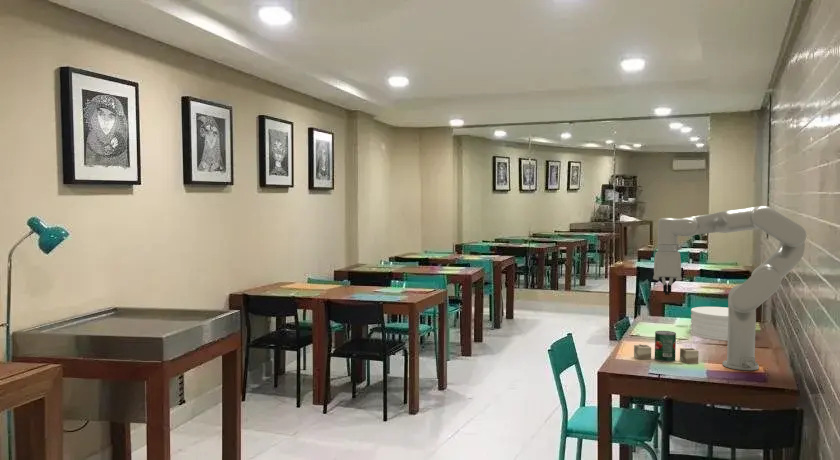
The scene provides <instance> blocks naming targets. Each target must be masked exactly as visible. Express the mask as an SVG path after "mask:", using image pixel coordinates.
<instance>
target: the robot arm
mask: <svg viewBox="0 0 840 460" xmlns="http://www.w3.org/2000/svg"><path fill="white" fill-rule="evenodd" d="M753 230H761V231H762V232H764V233H765V234H767V235H769V236H770V237H771V238H773V239H775V240H777V241H778V242H779V244H778V247H777V249H776V250H775V251H774V252H773V253H772V254H771V255H770V256H769V257H768V258H767V259H766V260H765V261H763V263H761V264H760V265H759V266H757V267H756V268H755V269H754V270H753V271H752V272H751V276H749V278H747V279H746V280H745V281H744V282H743V283H742V284H737V285H735V286H733V287H732V288H731V289H730V290H729V292H728V296H727V301H728V302H727V303H728V305H727V306H728V341H727V344H726V345H727V346H726V347H727V348H726V350H727V351H726V352H727V353H726V359H725V360H722V365H723V367H726V368H729V369H732V370H738V371H739V370H740V371H757V370H759V369H760V365H759V363H758V362H756V357H755V354H756V352H755V351H756V328H757V325H756V324H757V308H759V307H760V306H761V305H762V304H763V303H764V302H766V301H767V300H768V299H769V298H770V297H772V295H773V294H775V293H776V292H777V291H778V290H779V288H780V287H781V285H782V279H783V278H784V277H786V275H788V274H789V273H790V272H791V271H793V269H794V268H795V267H797V265H798V264H799V262H800V261H801V260H802V258H803V255H804V253H805V248H806V244H805V241H807V240H806V239H807V232H806V230H805V228H804V227H803V226H802V225H800V224H799V223H797V222H795V221H793V220H791V219H790V218H788V217H787V216H785V215H783V214H782V213H780V212H779V211H777V210H775V209H774V208H772V207H770V206H768V205H759V206H751V207H742V208H738V209H737V208H736V209H728V210H722V211H719V212H714V213H710V214H703V215H702V214H700V215H694V216H688V217H687V216H686V217H682V218H675V217H661V218H659V219H658V221H657V251H655V253H654V260H653V277H652V279H653V280H656V281H659V282H660V283H661V284H662V285H663V287H662V288H663V289H662V292H663V294H664V295H665V296H667V295H668V296H670V294H671V293H672V285H673V284H674V283H675V282H679V281H682V280H683V278H682V259H681V257H682V256H681V252H679V251H680V250H683V249H682V248H683V246H682V245H679V236H680V237H685V238H686V237H687V238H691V237H694V236H696V235H705V234H712V233H719V234H720V233H721V234H722V233H723V234H728V233H729V234H730V233H737V232H745V231H753ZM666 278H669V280H668V283H667V281H666Z"/></svg>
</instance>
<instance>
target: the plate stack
mask: <svg viewBox="0 0 840 460" xmlns="http://www.w3.org/2000/svg"><path fill="white" fill-rule="evenodd" d="M690 313H691V314H690V318H691V319H690V328H691V329H690V334H692V335H693V336H696V337H699V338H702V339H703V338H704V339H708V340H716V341H727V342H728V307H725V306H723V307H722V306H697V307H692V308H691V309H690Z"/></svg>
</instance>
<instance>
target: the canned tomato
mask: <svg viewBox="0 0 840 460" xmlns="http://www.w3.org/2000/svg"><path fill="white" fill-rule="evenodd" d="M676 341H677V332H676V331H675V332H674V331H672V330H671V331H669V330H656V331H654V360H655V361H657V360H658V362H661V363H673V361H674V362H675V361H676V349H677V348H676V346H677V345H676V343H677V342H676Z"/></svg>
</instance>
